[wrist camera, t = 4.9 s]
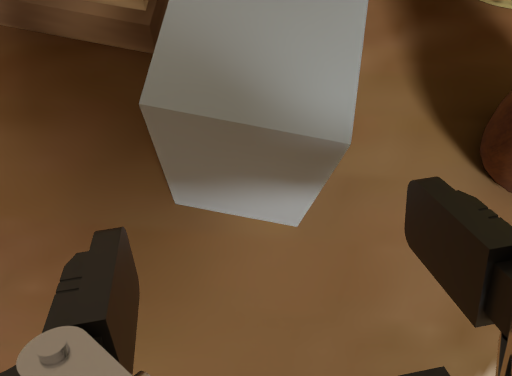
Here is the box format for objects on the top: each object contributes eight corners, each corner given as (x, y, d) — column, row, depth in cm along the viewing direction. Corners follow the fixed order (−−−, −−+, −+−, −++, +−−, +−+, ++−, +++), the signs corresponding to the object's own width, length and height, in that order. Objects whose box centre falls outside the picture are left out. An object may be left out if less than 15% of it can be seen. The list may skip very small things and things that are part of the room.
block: (313, 117, 24) (371, -25, 15) (297, 226, 22) (350, 144, 13) (201, 95, 24) (186, -61, 15) (175, 203, 22) (138, 104, 13)
